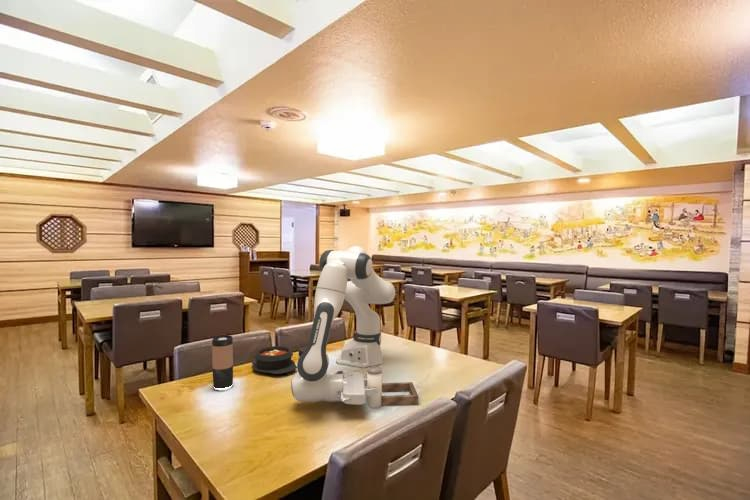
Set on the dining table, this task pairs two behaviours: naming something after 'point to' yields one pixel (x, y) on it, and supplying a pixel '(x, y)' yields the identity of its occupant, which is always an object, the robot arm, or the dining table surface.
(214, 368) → the travel mug
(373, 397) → the canister
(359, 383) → the robot arm
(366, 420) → the dining table surface
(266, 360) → the casserole
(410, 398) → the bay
